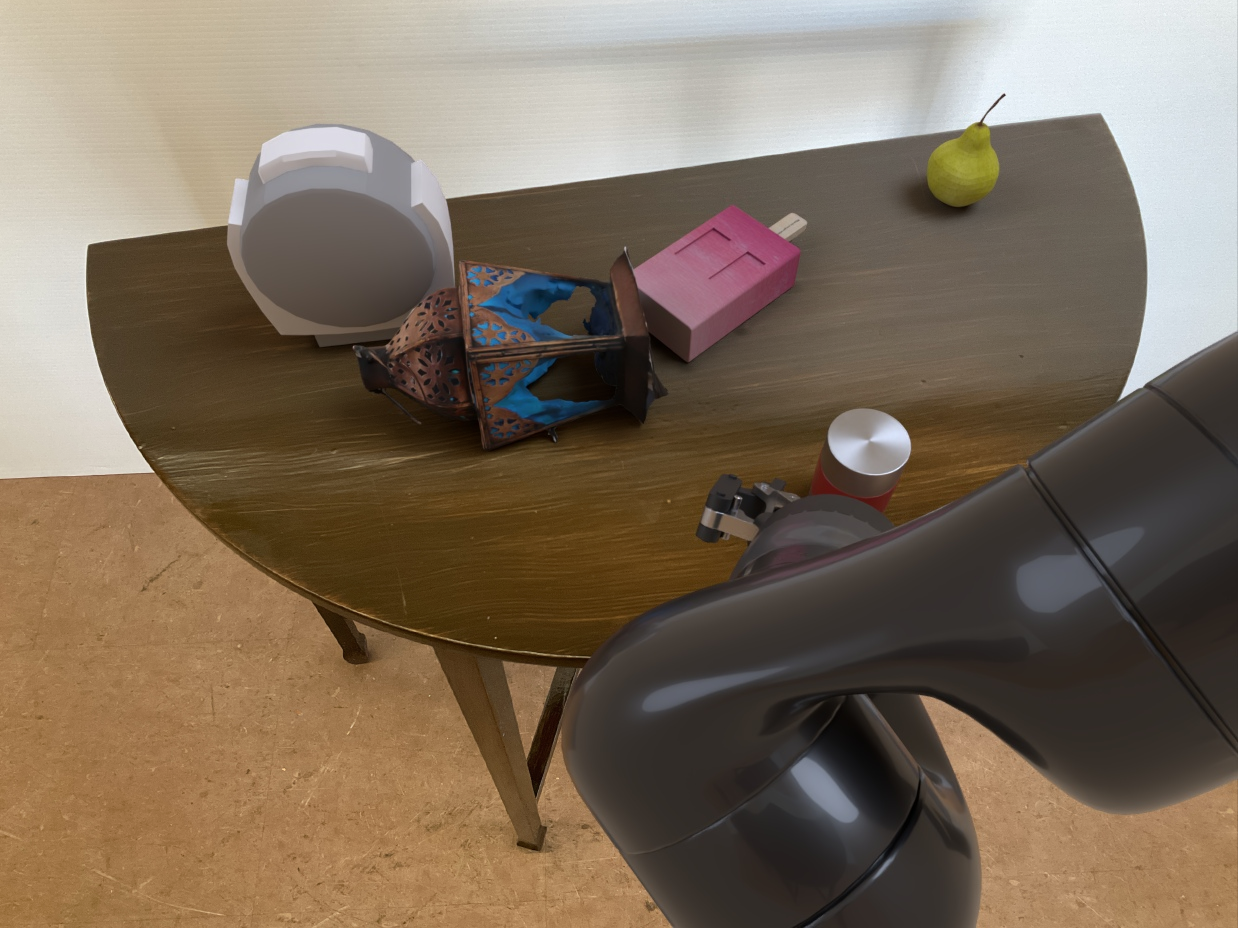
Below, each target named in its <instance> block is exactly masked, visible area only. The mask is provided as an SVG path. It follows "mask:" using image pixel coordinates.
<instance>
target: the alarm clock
mask: <svg viewBox="0 0 1238 928" xmlns="http://www.w3.org/2000/svg"><path fill="white" fill-rule="evenodd" d="M260 149H261V150H260V151H259V153H258V154H257V155H256V158H255V160H254V163H253V164H252V167H251V169H250V172H249V175H248V176H249V177H248V179H243V178H239V177H238V178H235V181H234V187H233V192H232V197H231V203H230V210H229V214H228V215H229V216H228V221H227V234H226V236H227V237H226V246H227V249H228V252H229V255H230V258H231V262H232V265H233V267H234V269H235V271H236V273H237V275H238V277H239V278H240V280H241V282H242V284H243V285H244V287H245V288H246V290H247V292H248V293H249V294H250V296H251V298H252V300H254V301H255V303H256V305H257V306H258V308H259V310H260V311H261V312H262V314H263V315H264V316H265V317H266V318H267V320H268V321H269V322H270V324H271V325H272V326H273V327H274V328H275V330H276V331H277V332H278V334H280V335H281V336H314V338H315V340H316V342H317V344H318V346H319V348H324V347H331V346H332V347H333V346H341V345H342V346H343V345H351V344H357V343H358V344H359V343H367V342H375V341H386V340H392V339H393V337H394V336H395V335H396V333H397V332H398V330H399V329H400V327H401V326H402V324H403V322H404V320H405V319H406V318H407V317H408V316H409V314H410V313H411V311H412V310H413V309H414V308H415V307H416V306H417V305H418V304H419V303H420V302H422V301H423V300H424V299H425V298H426V297H427V296H429V295H431V294H433V293H434V292H436V291H438V290H440V289H444V288H451V287H456V280H455V279H456V278H455V277H456V276H455V259H454V258H455V257H454V242H453V233H452V224H451V217H450V211H449V207H448V203H447V202H448V201H447V199H446V197H445V193H444V192H443V189H442V187H441V184H440V181H439V179H438V177H437V176H436V175H435V174H434V173H433V171H432V170H431V169H430V167H428V165H427V164H426V163H425V162H424V160H423V159H422V158H420V159H418V160H415V159H414V158H413V157H412V156H411V155H410V154H409V153H407V152H406V151H405V150H404V149H403V148H401V147H400V146H399V145H398V144H396V143H395V142H394V141H392V140H390V139H388V138H386V137H384V136H382V135H380V134H377V133H375V132H374V131H371V130H368V129H365V128H361V127H356V126H352V125H347V124H344V123H313V124H309V125H305V126H301V127H296V128H292V129H290V130H288V131H284V132H282V133H280V134H279V135H276V136H275V137H273V138H271V139H269V140H267V141H265V142H263V143H262V144H261V148H260Z"/></svg>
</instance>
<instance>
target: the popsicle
mask: <svg viewBox="0 0 1238 928" xmlns="http://www.w3.org/2000/svg"><path fill="white" fill-rule="evenodd" d="M807 224H808V221H807V220H806V219H804V218H802V217H801V216H799V215H798V214H796V213H794V212H790V213H789V214H787V215H786V216H784V217H783V218H781V219H780V220H778V221H777V222H776V223H774V224H773V225H771V226H769V227H767V226H766V225H765V224H763V223H762V222H760V221H758V220H757V219H755V218H754V217H752V216H751V215H749V214H748V213H746V212H745V211H743V210H742V209H740V208H739V207H737V206H736V205H734V204H730V205H729V206H728V207H726V208H725V209H723V210H722V211H720V212H718V213H717V214H716V215H714V216H713V217H711V218H710V219H708V220H706V221H705V222H703V223H702V224H699V226H697V227H696V228H693V230H692V231H690V232H688V233H686V234H684V236H682V237H680V238H679V239H678V240H676V241H674V242H673V243H671V244H669V246H666V247H665V248H664V249H662V250H661V251H659V252H658V253H656V254H655V255H653V256H652V257H650V258H648V259H647V260H645V261H644V262H643V263H641V264H639V265H638V266H636V267H635V268H633V270H634V275H635V279H636V283H637V287H638V292H639V296H640V301H641V305H642V308H643V312H644V316H645V319H646V323H647V328H648V333H649V334H651V335H652V336H653V337H655V338H656V339H657V340H658V341H660V342H661V343H662V344H663V345H665V346H666V347H667V348H668V349H670V350H671V351H672V352H673V353H675V354H676V355H677V356H678V357H680V358H681V359H682V360H683V361H685V362H686V363H691V361H693V360H694V359H695V358H697V357H698V356H699V355H701V354H703V353H704V352H705V351H707V350H708V349H709V348H710V347H712V346H714V345H715V344H716V343H718V341H720V340H722V339H723V338H724V337H726V336H727V335H728V334H730V333H731V332H732V331H734V330H735V329H736V328H738V327H739V326H741V325H742V324H744V323H745V322H747V320H749V319H750V318H752V316H754V315H755V314H757V313H758V312H759V311H762V309H764V308H765V307H767V306H768V305H769V304H771V303H772V302H773V301H775V300H776V299H777V298H779V297H780V296H782V295H783V294H784V293H786V292H787V291H789V290H790V289H791V288H792V287H794V286H795V283H796V279H797V273H798V269H799V263H800V260H801V254H802V251H801V249H800V248H799V247H798V246H796V245H795V244H793V243H792V242H790V241H792V240H793V239H795V238H796V237H798V236H799V235H800V234H802V233H803V232H805V231H806V229H807Z"/></svg>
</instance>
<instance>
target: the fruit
mask: <svg viewBox="0 0 1238 928" xmlns="http://www.w3.org/2000/svg"><path fill="white" fill-rule="evenodd" d="M1006 96H1007V95H1006V93H1005V92H1004V93H1002V94H1001V95H1000V96H999V97H998V98H997V100H995V101H994V102H993V104H992V105H991V106H990V107H989V108H988V110H987V111H986V112H985V114H984V115H983V116H982V118H981V119H980V121H975V122H973V123H972V124H970V125H968V127H967V128H965V130H964V131H963V133H962V134H961V135H960V136H959V137H957V138H953V139H950V140H947V141H945V142H943V143H941V144H939V146H938V147H937V148H935V149H934V150H933V152H932V153H931V155H930V157H929V158H928V160H927V167H926V169H927V170H926V179H927V186H928V188H929V189H928V190H930V192H931V194H932V196H934V198H936V199H937V200H938V201H940V202H941V203H944V204H946V205H947V206H950V207H955V208H962V207H966V206H970V205H972V204H975V203H977V202H980V201H981V200H983V199H984V198H985V197H986V196H988V195H989V194H990V193H991V192H992V190H993V189H994V188H995V185H996V183H997V181H998V178H999V175H1000V163H999V159H998V155H997V153H996V151H995V149H994V148H993V147H992V144H991V131H990V127H989V126H988V124H987V123H985V122H984V121H985V118H986V116H987V115H989V113H990V112H991V111H992V110H993V109H994V108H995V107H996V106H997V105H998V104H999V103H1000V102H1001V100H1002V99H1004V97H1006Z"/></svg>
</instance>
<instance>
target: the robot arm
mask: <svg viewBox="0 0 1238 928" xmlns="http://www.w3.org/2000/svg"><path fill="white" fill-rule="evenodd" d="M1025 464H1026V465H1027V466H1028V467H1027V468H1026V467H1025V466H1024V465H1023V464H1019V463H1017V464H1015V465H1013V466H1011V467H1010V468H1009V469H1007V470H1005V471H1004V472H1002V473H1001V474H999V475H998V476H995V477H994V478H993V479H990V480H989V481H987V482H986V483H984V484H982V485H980V486H979V487H977V488H975V489H973V490H972V491H970V492H968V493H967V494H964V495H963V496H960V497H959V498H957V499H955V500H952V501H951V502H949V503H947V504H945V505H942V506H940V507H939V508H937V509H934V510H932V511H930V512H928V513H925V514H923V515H920V516H918V517H916V518H914V519H912V520H909V521H907V522H905V523H903V524H900V525H897V526H895V525H894V524H893V522H892V521H891V520H890V519H889V518H888V517H887V516H886V515H884V513H883V514H882V513H881V512H879V511H878V510H876V509H875V508H873V507H872V506H870V505H868V504H866V503H864V502H862V501H859V500H857V499H854V498H851V497H847V496H842V495H834V494H820V495H812V496H808V495H807V496H804V497H800V496H799V495H797V494H796V493H792V492H787V491H785V488H786V485H787V481H786V480H783V479H781V478H777V477H775V478H774V479H773V480H772V481H771V482H768V481H760V482H754V483H753V485H752V487H751V488H748V487H744V486H742V484H743V480H742V479H741V478H739V477H738V476H737V475H736V474H733V473H722V474H721V475H720V476H719V478H718V479H717V481H715V483H714V484H713V486H712V487H711V489H709V492H708V495H707V498H706V501H705V503H704V507H703V510H702V513H701V516H700V519H699V523H698V525H697V529H696V532H695V534H694V535H695V537H697V538H698V539H700V540H701V541H702V542H704V543H707V544H708V543H709V544H717V543H718V542H719V540H720V539H721V540H723V541H728V540H730V537H731V535H732V536H734V537H736V538H739V539H741V540H742V539H743V540H745V541H746V543H747V547H746V549H745V550H744V552H743V553H742V555H741V556H740V557H739V558H738V560H737V562H736V563H735V565H734V567H733V569H732V571H731V574H730V576H729V578H728V580H726V581H722V582H719V583H715V584H712V585H708V586H706V587H702V588H699V589H697V590H694V591H692V592H691V591H690V592H688V593H686V594H683V595H681V596H677V597H675V598H673V599H669V600H667V601H665V602H663V603H660V604H658V605H656V606H654V607H652V608H650V609H648V610H646V611H644V612H643V613H641V614H639V615H638V616H636V617H635V618H632V619H631V620H629V621H628V622H627V623H625V624H624V625H622V626H620V627H619V628H618V629H617V630H616V631H614V632H613V633H612V634H610V636H609V637H607V639H606V640H604V642H603V643H601V644H600V646H599V647H598V648H597V649H596V650H594V652H593V653H592V655H591V656H590V657H589V658H588V660H587V661H586V662H585V664H584V665H583V667H582V668H581V670H580V672H579V673H578V675H577V677H576V679H575V681H574V683H573V686H572V688H571V691H570V692H569V695H568V698H567V699H566V700H567V701H566V702H565V707H564V711H563V717H562V721H561V735H560V736H561V737H560V738H561V739H560V741H561V744H560V746H561V753H562V759H563V763H564V766H565V769H566V771H567V774H568V776H569V779H570V781H571V782H572V784H573V786H574V789H575V790H576V793H577V794H578V796H579V797H580V799H581V800H582V802H583V804H585V807H586V808H587V809H588V811H589V812H590V813H591V815H592V816H593V818H594V820H595V821H596V822H597V824H598V825H599V827H600V828H601V829H602V831H603V832H604V833H605V835H606V837H607V838H608V839H609V841H610V842H611V843H612V845H613V846H614V847H615V849H617V850H618V853H619V855H620V856H621V857H622V859H623V860H624V862H625V863H626V865H627V866H628V867H629V868H630V870H631V871H632V873H633V874H634V876H635V877H636V878H637V880H638V881H639V882H640V884H641V885H642V887H643V888H644V890H645V891H646V892H647V894H648V895H649V896H650V898H651V899H652V902H654V904H655V905H656V907H657V908H658V909H659V911H660V912H661V913H662V915H663V917H664V918H665V919H666V920H667V922H668V923H669V925H670V926H671V928H977V925H978V920H979V914H980V908H981V899H982V889H983V888H982V886H983V883H982V882H983V881H982V879H983V872H982V871H983V870H982V858H981V857H982V856H981V852H980V845H979V840H978V836H977V835H978V834H977V831H976V827H975V823H974V821H973V817H972V814H971V811H970V808H969V805H968V803H967V800H966V798H965V794H964V792H963V789H962V787H961V784H960V782H959V779H958V777H957V774H956V772H955V770H954V767H953V765H952V763H951V761H950V758H949V756H948V754H947V751H946V749H945V747H944V744H943V742H942V740H941V737H940V735H939V732H938V731H937V728H936V726H935V725H934V723H933V720H932V718H931V716H930V715H929V711H928V710H927V707H926V706H925V704H924V702H923V700H922V698H921V696H923V697H928V698H933V699H934V700H938V701H941V702H943V703H945V704H947V705H948V706H950V707H952V708H953V709H955V710H957V711H959V712H961V713H963V714H965V715H966V716H968V717H969V718H971V719H972V720H974V721H975V722H976V723H978V724H979V725H980V726H982V727H983V728H984V729H986V730H987V731H989V732H990V733H992V734H993V735H994V736H995V737H996V738H998V739H999V740H1000V741H1001V742H1002V743H1004V744H1005V745H1006V746H1007V747H1008V748H1009V749H1011V750H1012V751H1013V752H1014V753H1016V755H1018V756H1019V757H1020V758H1021V759H1023V760H1024V761H1025V762H1026V763H1027V764H1028V765H1029V766H1031V767H1032V768H1033V769H1034V771H1036V772H1038V773H1039V775H1041V776H1042V777H1043V778H1044V779H1046V780H1047V781H1048V782H1049V783H1051V784H1052V785H1054V786H1055V787H1056V788H1058V789H1059V790H1060V791H1061V792H1063V793H1064V794H1066V795H1067V796H1069V797H1070V798H1072V799H1073V800H1075V801H1077V802H1078V803H1080V804H1082V805H1084V806H1086V807H1089V808H1091V809H1093V810H1096V811H1099V812H1102V813H1106V814H1110V815H1118V816H1119V815H1120V816H1130V815H1131V816H1133V815H1142V814H1147V813H1152V812H1156V811H1159V810H1162V809H1165V808H1169V807H1172V806H1175V805H1178V804H1181V803H1183V802H1186V801H1189V800H1192V799H1194V798H1197V797H1198V796H1201V795H1204V794H1207V793H1209V792H1212V791H1215V790H1216V789H1219V788H1221V787H1223V786H1225V785H1229V784H1230V783H1232V782H1235V781H1237V780H1238V329H1237V330H1235V331H1233V332H1232V333H1230V334H1227V335H1226V336H1224V337H1222V338H1221V339H1219V340H1217V341H1215V342H1213V343H1211V344H1210V345H1208V346H1206V347H1204V348H1202V349H1200V350H1199V351H1197V352H1194V353H1193V354H1190V355H1189V356H1188V357H1186V358H1184V359H1183V360H1181V361H1180V362H1178V363H1176V364H1175V365H1173V366H1172V367H1170V368H1168V369H1167V370H1165V371H1163V372H1162V373H1160V374H1158V375H1157V376H1155V377H1154V378H1152V379H1150V380H1149V381H1147V382H1146V383H1145V384H1144V385H1143V386H1142V387H1139V388H1137V389H1135V390H1133V391H1132V392H1130V393H1129V394H1127V395H1125V396H1124V397H1121V399H1119V400H1117V401H1116V402H1114V403H1113V404H1111V405H1110V406H1108V407H1106V408H1104V409H1102V411H1100V412H1098V413H1096V414H1095V415H1093V416H1091V417H1090V418H1089V419H1086V420H1085V421H1084V422H1082V423H1081V424H1079V425H1077V426H1076V427H1074V428H1073V429H1071V430H1070V431H1068V432H1067V433H1065V434H1063V435H1062V436H1060V437H1058V438H1057V439H1055V440H1054V441H1052V442H1051V443H1049V444H1047V445H1045V446H1044V447H1043V448H1041V449H1039V450H1038V451H1036V452H1034V453H1033V454H1031V455H1030V456H1028V457H1027V458H1026V460H1025Z"/></svg>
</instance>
